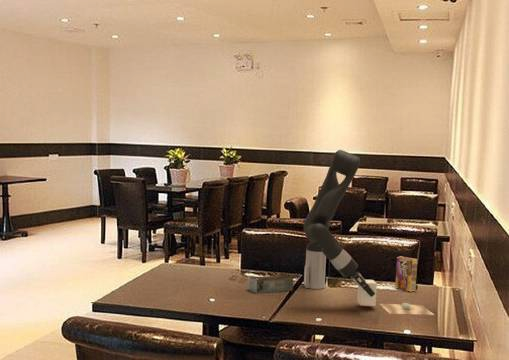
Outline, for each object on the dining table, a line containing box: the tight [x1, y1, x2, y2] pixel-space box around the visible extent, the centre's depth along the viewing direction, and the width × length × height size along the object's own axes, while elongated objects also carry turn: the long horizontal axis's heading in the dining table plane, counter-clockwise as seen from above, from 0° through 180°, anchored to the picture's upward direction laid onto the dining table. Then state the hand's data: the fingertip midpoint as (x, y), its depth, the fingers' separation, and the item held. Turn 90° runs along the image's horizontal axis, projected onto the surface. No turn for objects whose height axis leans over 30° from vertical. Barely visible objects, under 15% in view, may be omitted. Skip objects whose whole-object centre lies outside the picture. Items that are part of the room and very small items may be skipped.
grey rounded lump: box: [401, 302, 411, 310], centre depth 235 cm, size 3×3×2 cm
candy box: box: [394, 255, 418, 293], centre depth 273 cm, size 9×4×15 cm, turn 39°
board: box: [379, 303, 435, 316], centre depth 235 cm, size 18×15×1 cm
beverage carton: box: [248, 274, 294, 295], centre depth 261 cm, size 8×19×7 cm, turn 118°
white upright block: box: [356, 279, 378, 307], centre depth 234 cm, size 6×6×9 cm
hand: (371, 293), depth 234 cm, fingers closed on white upright block, 6 cm apart
